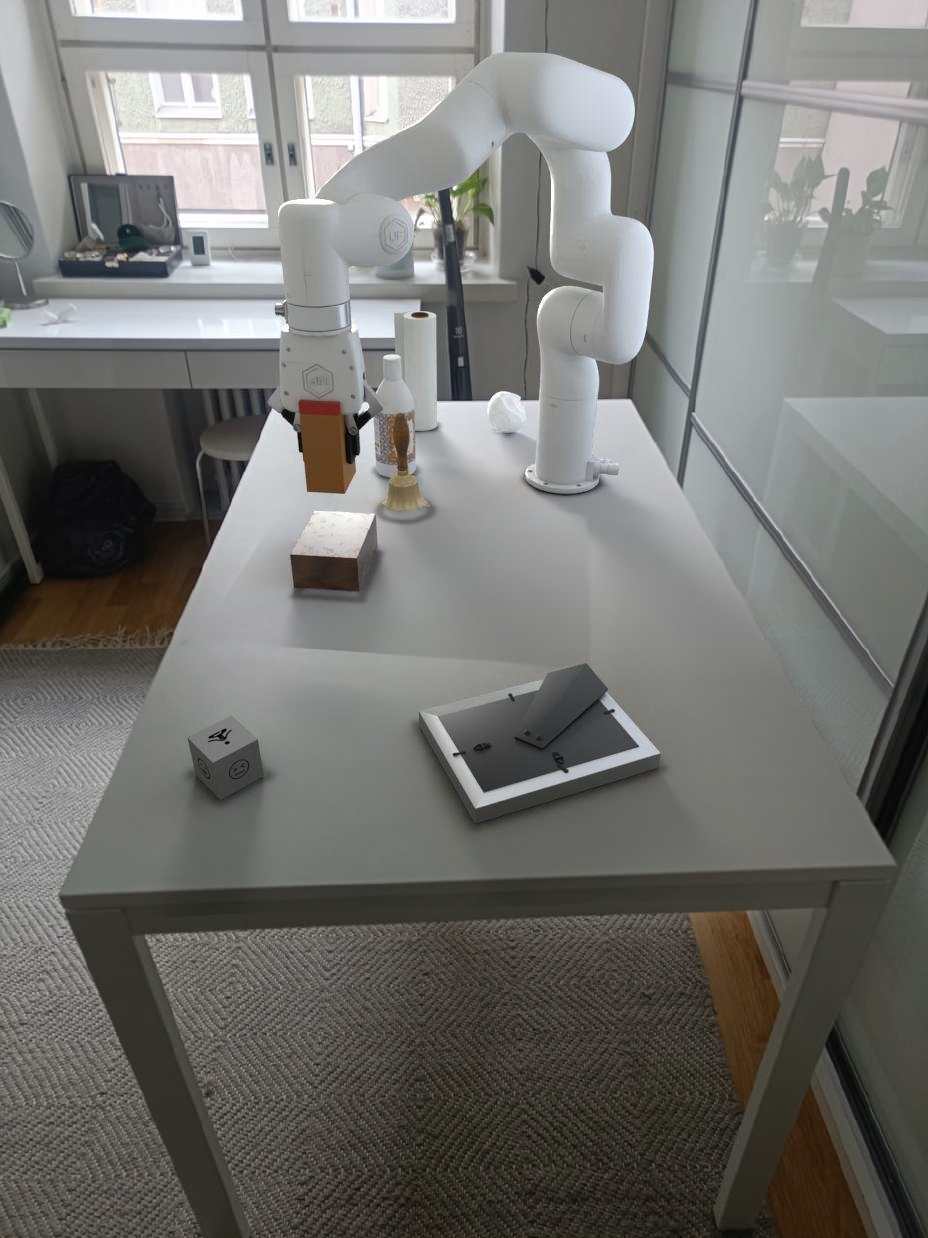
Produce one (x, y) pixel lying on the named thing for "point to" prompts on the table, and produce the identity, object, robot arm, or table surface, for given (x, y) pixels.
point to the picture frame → (535, 742)
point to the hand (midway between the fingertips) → (330, 457)
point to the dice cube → (226, 757)
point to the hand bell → (403, 473)
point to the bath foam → (393, 418)
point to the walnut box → (334, 551)
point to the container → (325, 447)
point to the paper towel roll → (418, 363)
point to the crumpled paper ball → (506, 412)
